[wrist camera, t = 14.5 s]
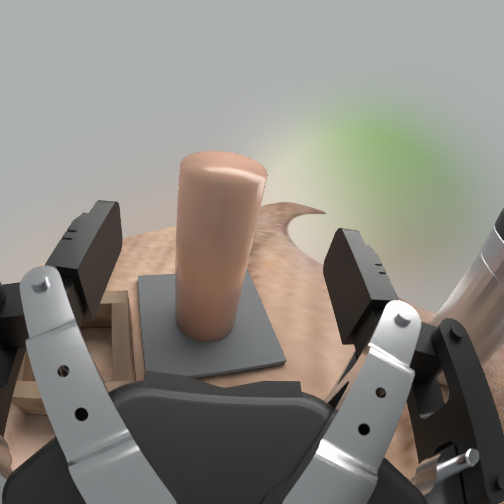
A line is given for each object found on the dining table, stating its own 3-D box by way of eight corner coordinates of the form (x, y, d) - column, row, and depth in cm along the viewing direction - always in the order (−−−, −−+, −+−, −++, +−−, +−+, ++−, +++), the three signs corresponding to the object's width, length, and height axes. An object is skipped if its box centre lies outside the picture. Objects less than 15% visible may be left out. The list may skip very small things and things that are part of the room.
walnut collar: (130, 314, 29) (127, 290, 27) (140, 414, 21) (134, 398, 19) (34, 317, 25) (24, 294, 23) (23, 413, 18) (6, 396, 15)
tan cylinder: (234, 344, 28) (271, 192, 18) (171, 338, 27) (172, 180, 18) (234, 283, 35) (261, 147, 25) (181, 277, 34) (191, 138, 24)
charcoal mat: (246, 272, 38) (247, 269, 37) (284, 363, 28) (286, 360, 28) (138, 279, 33) (138, 275, 33) (147, 382, 24) (146, 379, 23)
